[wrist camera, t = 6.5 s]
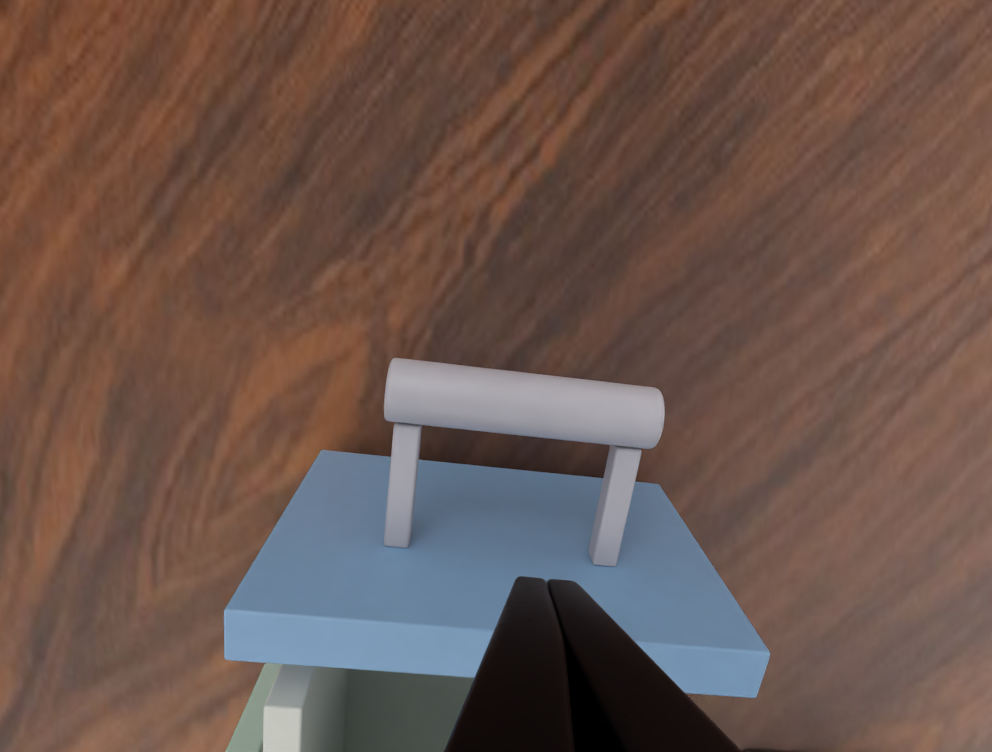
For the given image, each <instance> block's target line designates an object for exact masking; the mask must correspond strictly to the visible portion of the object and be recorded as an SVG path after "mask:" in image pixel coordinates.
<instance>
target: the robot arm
mask: <svg viewBox="0 0 992 752" xmlns="http://www.w3.org/2000/svg"><path fill="white" fill-rule="evenodd" d="M444 752H742V751H741V750H740V749H739V748H738V747H737V746H736V745H735V744H734V743H733V742H732V741H731V740H730V739H729V738H728V736H727V735H726V734H725V733H724V732H723V731H722V730H721V729H720V728H719V727H718V726H717V725H716V724H715V723H714V722H713V721H712V720H711V719H710V718H709V717H708V716H707V715H706V714H705V713H704V712H703V711H702V710H701V709H700V708H699V707H698V706H697V705H696V704H695V703H694V702H693V701H692V700H691V699H690V698H689V697H688V696H687V695H686V694H685V692H684V691H683V690H682V689H681V688H680V687H679V686H678V685H677V684H676V683H675V682H674V681H673V680H672V679H671V678H670V677H669V676H668V675H667V674H666V673H665V672H664V671H663V670H662V669H661V668H660V667H659V666H658V665H657V664H656V663H655V662H654V661H653V660H652V659H651V658H650V657H649V656H648V655H647V654H646V653H645V652H644V651H643V649H642V648H641V647H640V646H639V645H638V644H637V643H636V642H635V641H634V640H633V639H632V638H631V637H630V636H629V635H628V634H627V633H626V632H625V631H624V630H623V629H622V628H621V627H620V626H619V625H618V624H617V623H616V622H615V621H614V620H613V619H612V618H611V617H610V616H609V615H608V614H607V613H606V612H605V611H604V610H603V609H602V608H601V607H600V605H599V604H598V603H597V602H596V601H595V600H594V599H593V598H592V597H591V596H590V595H589V594H588V593H587V592H586V591H585V590H584V589H583V588H582V587H581V586H580V585H579V584H578V583H577V582H575V581H571V580H559V579H549V580H547V582H546V581H545V580H544V579H542V578H536V577H525V576H519V577H517V578H516V579H515V581H514V584H513V586H512V589H511V591H510V593H509V596H508V598H507V601H506V603H505V605H504V608H503V610H502V613H501V615H500V617H499V620H498V622H497V625H496V627H495V629H494V632H493V634H492V637H491V639H490V641H489V644H488V646H487V649H486V651H485V653H484V656H483V658H482V661H481V663H480V665H479V668H478V670H477V673H476V675H475V677H474V680H473V682H472V685H471V687H470V689H469V692H468V694H467V697H466V699H465V701H464V704H463V706H462V709H461V711H460V713H459V716H458V718H457V721H456V723H455V725H454V728H453V730H452V733H451V735H450V737H449V740H448V742H447V745H446V747H445V749H444Z"/></svg>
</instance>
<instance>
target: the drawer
mask: <svg viewBox="0 0 992 752" xmlns="http://www.w3.org/2000/svg"><path fill="white" fill-rule="evenodd" d="M384 417H385V420H387V421H390V422H395V424H394V428H393V439H392V451H391V457H388V456H378V455H368V454H358V453H349V452H339V451H329V450H321V451H320V453H319V454H318V456H317V458H316V459H315V461H314V463H313V464H312V466H311V468H310V469H309V471H308V473H307V474H306V476H305V478H304V479H303V481H302V483H301V484H300V486H299V487H298V489H297V491H296V492H295V494H294V496H293V497H292V499H291V501H290V502H289V504H288V506H287V507H286V509H285V511H284V512H283V514H282V516H281V517H280V519H279V521H278V522H277V524H276V525H275V527H274V529H273V530H272V532H271V534H270V535H269V537H268V539H267V540H266V542H265V544H264V545H263V547H262V549H261V550H260V552H259V554H258V555H257V557H256V558H255V560H254V562H253V563H252V565H251V567H250V568H249V570H248V572H247V573H246V575H245V577H244V578H243V580H242V582H241V583H240V585H239V587H238V588H237V590H236V592H235V593H234V595H233V596H232V598H231V600H230V601H229V603H228V605H227V606H226V608H225V610H224V658H225V659H226V660H233V661H247V662H261V663H275V664H281V666H280V668H279V671H278V673H277V675H276V678H275V680H274V683H273V685H272V688H271V690H270V692H269V695H268V697H267V700H266V702H265V705H264V709H263V752H444V749H445V747H446V745H447V742H448V740H449V737H450V735H451V733H452V730H453V728H454V725H455V723H456V721H457V718H458V716H459V713H460V711H461V709H462V706H463V704H464V701H465V699H466V697H467V694H468V692H469V689H470V687H471V685H472V682H473V680H474V677H475V675H476V673H477V670H478V668H479V665H480V663H481V661H482V658H483V656H484V653H485V651H486V649H487V646H488V644H489V641H490V639H491V637H492V634H493V632H494V629H495V627H496V625H497V622H498V620H499V617H500V615H501V613H502V610H503V608H504V605H505V603H506V601H507V598H508V596H509V593H510V591H511V589H512V586H513V584H514V581H515V579H516V578H517V577H519V576H525V577H536V578H542V579H544V580H545V581H546V582H547V580H549V579H559V580H571V581H575V582H577V583H578V584H579V585H580V586H581V587H582V588H583V589H584V590H585V591H586V592H587V593H588V594H589V595H590V596H591V597H592V598H593V599H594V600H595V601H596V602H597V603H598V604H599V605H600V607H601V608H602V609H603V610H604V611H605V612H606V613H607V614H608V615H609V616H610V617H611V618H612V619H613V620H614V621H615V622H616V623H617V624H618V625H619V626H620V627H621V628H622V629H623V630H624V631H625V632H626V633H627V634H628V635H629V636H630V637H631V638H632V639H633V640H634V641H635V642H636V643H637V644H638V645H639V646H640V647H641V648H642V649H643V651H644V652H645V653H646V654H647V655H648V656H649V657H650V658H651V659H652V660H653V661H654V662H655V663H656V664H657V665H658V666H659V667H660V668H661V669H662V670H663V671H664V672H665V673H666V674H667V675H668V676H669V677H670V678H671V679H672V680H673V681H674V682H675V683H676V684H677V685H678V686H679V687H680V688H681V689H682V690H683V691H684V692H685V694H686V693H691V694H704V695H718V696H732V697H746V698H756V697H757V694H758V691H759V688H760V685H761V682H762V679H763V676H764V673H765V670H766V667H767V664H768V661H769V658H770V651H769V650H768V648H767V647H766V645H765V644H764V642H763V641H762V639H761V638H760V636H759V635H758V633H757V632H756V630H755V629H754V627H753V626H752V624H751V623H750V621H749V620H748V618H747V617H746V615H745V614H744V612H743V611H742V609H741V608H740V606H739V605H738V603H737V602H736V600H735V598H734V597H733V595H732V594H731V592H730V591H729V589H728V588H727V586H726V585H725V583H724V582H723V580H722V579H721V577H720V576H719V574H718V573H717V571H716V570H715V568H714V567H713V565H712V564H711V562H710V561H709V559H708V558H707V556H706V555H705V553H704V552H703V550H702V549H701V547H700V546H699V544H698V543H697V541H696V539H695V538H694V536H693V535H692V533H691V532H690V530H689V529H688V527H687V526H686V524H685V523H684V521H683V520H682V518H681V517H680V515H679V514H678V512H677V511H676V509H675V508H674V506H673V505H672V503H671V502H670V500H669V499H668V497H667V496H666V494H665V493H664V491H663V490H662V488H661V487H660V485H659V484H655V483H645V482H635V479H636V475H637V470H638V466H639V462H640V457H641V450H640V448H644V449H651V448H653V447H655V446H656V445H657V443H658V441H659V439H660V437H661V434H662V430H663V426H664V417H665V407H664V400H663V396H662V393H661V392H660V390H658V389H657V388H655V387H646V386H638V385H629V384H620V383H612V382H603V381H594V380H585V379H577V378H568V377H559V376H551V375H542V374H533V373H524V372H516V371H507V370H498V369H490V368H481V367H472V366H463V365H455V364H446V363H437V362H429V361H420V360H411V359H403V358H393V359H392V361H391V363H390V365H389V369H388V374H387V380H386V388H385V397H384ZM422 425H428V426H437V427H446V428H456V429H465V430H475V431H484V432H494V433H503V434H512V435H522V436H531V437H541V438H550V439H559V440H569V441H578V442H588V443H597V444H607V445H610V448H609V453H608V458H607V463H606V468H605V473H604V478H595V477H585V476H576V475H566V474H556V473H546V472H536V471H526V470H516V469H506V468H497V467H487V466H477V465H467V464H457V463H447V462H437V461H428V460H419V453H420V443H421V433H422ZM686 695H687V694H686Z"/></svg>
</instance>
